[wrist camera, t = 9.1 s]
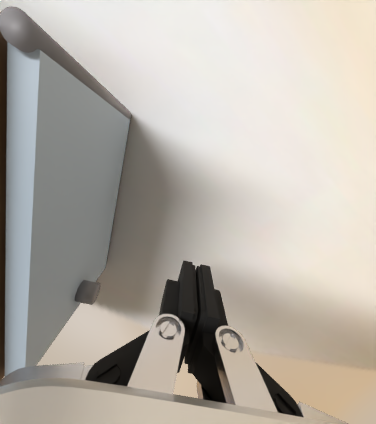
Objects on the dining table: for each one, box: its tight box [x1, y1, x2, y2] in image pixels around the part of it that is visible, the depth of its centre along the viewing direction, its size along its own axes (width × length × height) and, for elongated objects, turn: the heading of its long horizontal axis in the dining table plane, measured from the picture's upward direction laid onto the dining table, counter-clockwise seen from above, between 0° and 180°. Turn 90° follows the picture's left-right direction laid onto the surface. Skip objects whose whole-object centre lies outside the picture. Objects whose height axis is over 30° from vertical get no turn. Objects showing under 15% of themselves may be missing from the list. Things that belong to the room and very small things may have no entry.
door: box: [0, 7, 131, 377], centre depth 13 cm, size 2×16×11 cm, turn 165°
